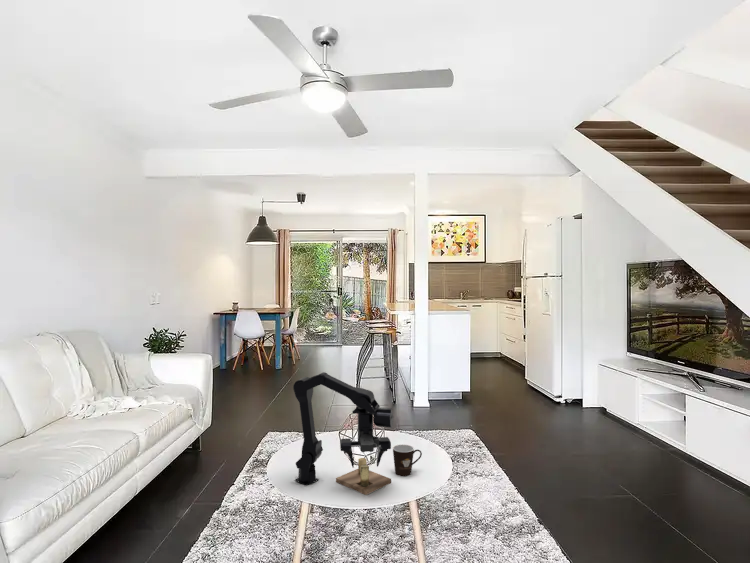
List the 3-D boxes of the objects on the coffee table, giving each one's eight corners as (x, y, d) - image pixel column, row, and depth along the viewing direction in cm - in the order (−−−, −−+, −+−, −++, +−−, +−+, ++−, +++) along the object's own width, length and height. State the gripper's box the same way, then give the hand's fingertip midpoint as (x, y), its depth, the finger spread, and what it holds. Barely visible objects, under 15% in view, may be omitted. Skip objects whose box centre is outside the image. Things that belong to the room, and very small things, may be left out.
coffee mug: (391, 476, 183) (391, 451, 183) (393, 468, 191) (393, 443, 191) (420, 478, 181) (421, 453, 181) (421, 469, 190) (421, 445, 190)
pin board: (335, 481, 178) (336, 463, 178) (361, 470, 188) (361, 453, 188) (366, 495, 167) (366, 475, 167) (391, 482, 178) (391, 464, 178)
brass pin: (360, 489, 171) (360, 468, 171) (360, 486, 175) (360, 464, 175) (369, 489, 172) (369, 468, 172) (368, 485, 175) (368, 464, 175)
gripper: (341, 433, 164) (341, 477, 164) (393, 431, 166) (393, 474, 166) (340, 423, 175) (339, 464, 175) (388, 421, 177) (388, 462, 177)
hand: (365, 466), depth 173 cm, fingers open, 9 cm apart
